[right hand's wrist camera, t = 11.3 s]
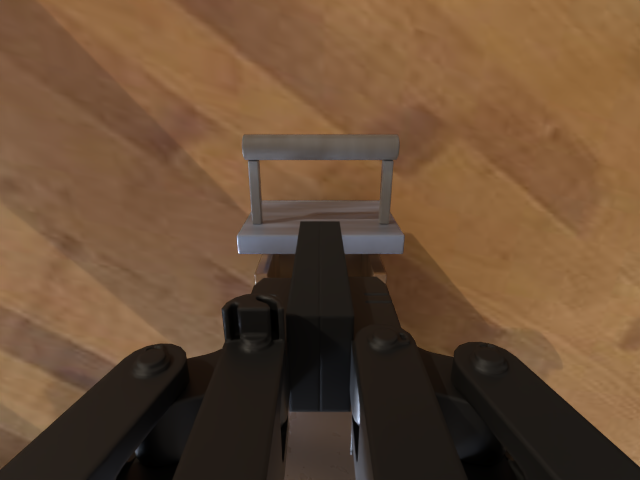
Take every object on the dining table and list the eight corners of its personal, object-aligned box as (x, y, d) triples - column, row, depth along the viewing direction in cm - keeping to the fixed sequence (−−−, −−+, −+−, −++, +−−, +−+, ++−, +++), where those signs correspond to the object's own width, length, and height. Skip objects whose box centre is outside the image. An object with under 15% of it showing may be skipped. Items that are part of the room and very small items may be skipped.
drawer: (252, 127, 27) (228, 138, 20) (388, 127, 27) (413, 138, 20) (267, 361, 34) (253, 433, 27) (373, 361, 34) (387, 433, 27)
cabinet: (257, 282, 33) (233, 354, 23) (383, 282, 33) (408, 354, 23) (267, 425, 38) (251, 527, 29) (373, 425, 38) (390, 527, 29)
